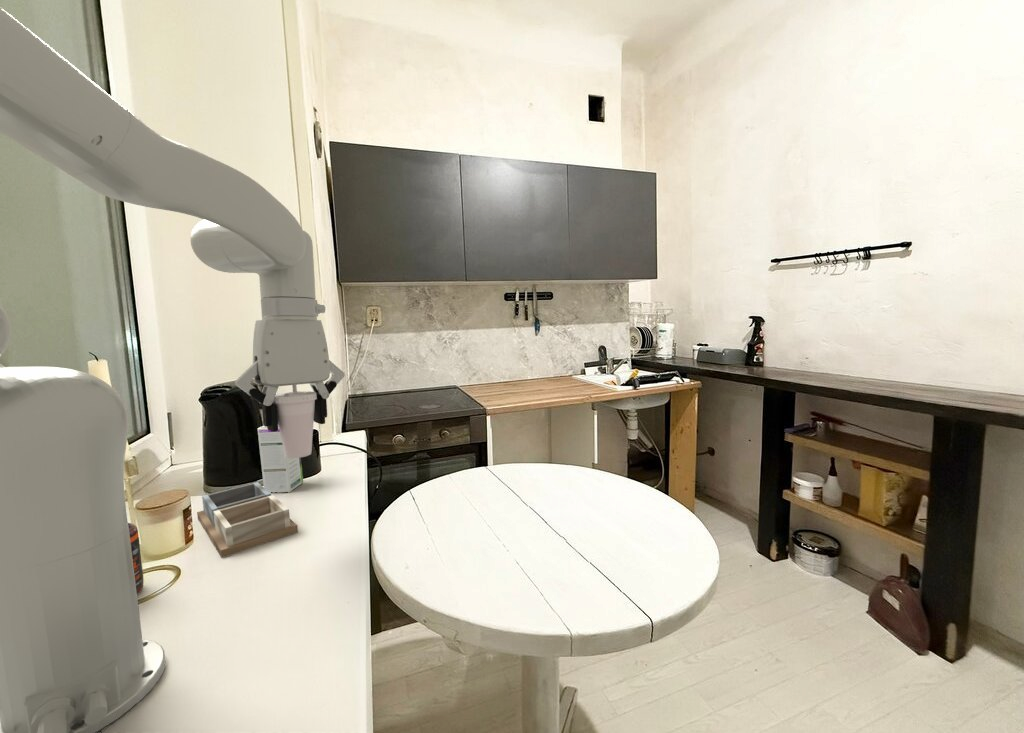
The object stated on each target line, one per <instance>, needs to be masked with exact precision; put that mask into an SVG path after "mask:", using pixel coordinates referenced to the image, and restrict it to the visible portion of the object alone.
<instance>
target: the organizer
mask: <svg viewBox="0 0 1024 733" xmlns="http://www.w3.org/2000/svg"><path fill="white" fill-rule="evenodd" d="M201 498H202V505H203V506H202V507H203V510H200V511H197V512H196V514H197V516H196V517H197V519H198V521H199V523H200V525H201V526H202V528H203V530H204V531H205V533H206V535H207V536H208V538H209V539H210V542H211V543H212V544H213V546H214V548H215V550H216V551H217V553H218V555H219V557H220V558H221V559H222V558H225V557H228V556H231V555H234V554H237V553H240V552H242V551H246V550H249V549H252V548H255V547H257V546H259V545H263V544H266V543H269V542H272V541H275V540H278V539H281V538H284V537H287V536H290V535H293V534H295V533H298V532H299V530H298V524H296V522H295V521H294V520H292V519H291V516H290V509H289V508H288V507H287V506H286V505H285V504H284V503H282V502H281V501H280V500H279V499H278V498H277V497H276V496H274V495H273V494H272V493H270V492H268V491H267V490H266V489H265V488H264V485H262V484H260V483H259V482H258V481H255V482H251V483H248V484H243V485H239V486H236V487H231V488H229V489H228V488H227V489H223V490H220V491H216V492H212V493H207V494H204V495H203V494H202V496H201Z"/></svg>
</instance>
